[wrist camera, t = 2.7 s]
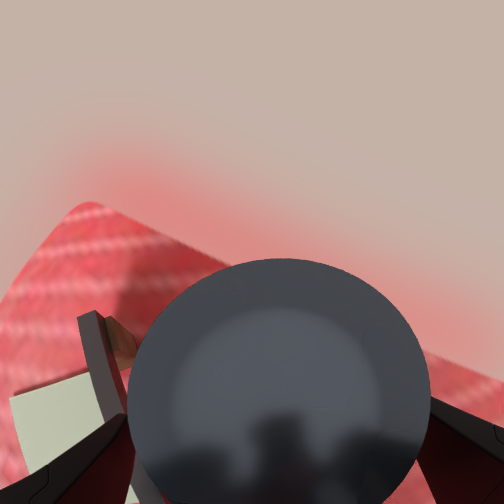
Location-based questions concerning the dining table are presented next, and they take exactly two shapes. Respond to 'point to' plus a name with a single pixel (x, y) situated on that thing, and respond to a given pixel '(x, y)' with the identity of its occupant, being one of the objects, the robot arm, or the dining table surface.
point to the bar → (112, 393)
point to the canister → (279, 390)
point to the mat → (56, 420)
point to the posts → (121, 344)
